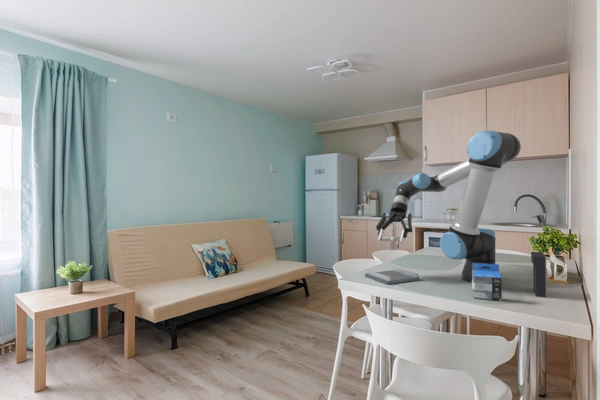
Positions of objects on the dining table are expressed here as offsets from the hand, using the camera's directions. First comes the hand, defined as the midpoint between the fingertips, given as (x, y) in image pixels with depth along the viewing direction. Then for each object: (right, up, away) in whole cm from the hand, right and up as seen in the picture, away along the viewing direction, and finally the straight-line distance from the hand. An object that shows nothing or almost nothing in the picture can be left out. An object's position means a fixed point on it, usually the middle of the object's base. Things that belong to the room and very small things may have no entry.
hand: (390, 242), depth 149 cm
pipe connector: (+2, -4, +3) cm, 5 cm away
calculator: (+50, -16, -26) cm, 58 cm away
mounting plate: (+1, -17, 0) cm, 17 cm away
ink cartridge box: (+26, -17, -32) cm, 44 cm away
